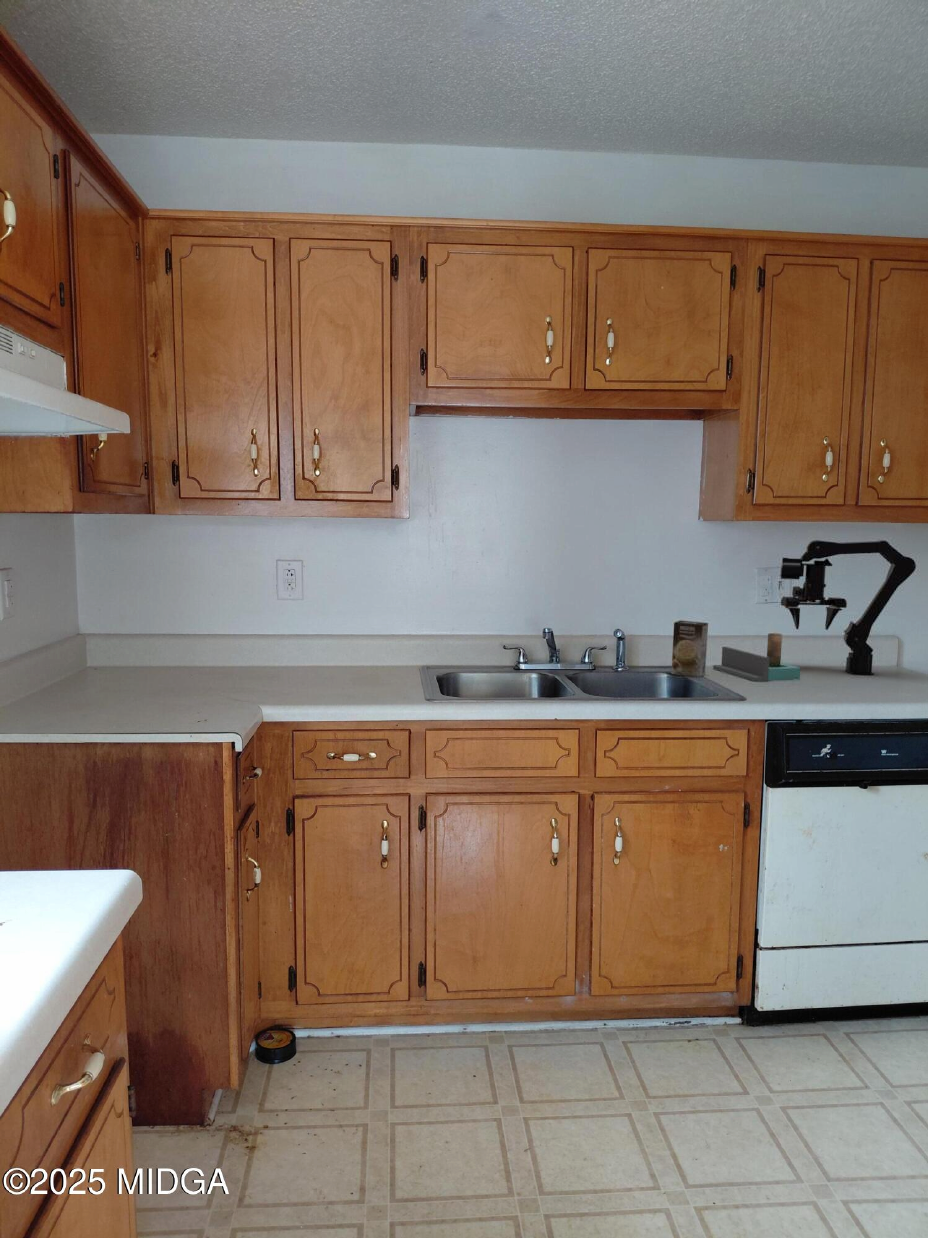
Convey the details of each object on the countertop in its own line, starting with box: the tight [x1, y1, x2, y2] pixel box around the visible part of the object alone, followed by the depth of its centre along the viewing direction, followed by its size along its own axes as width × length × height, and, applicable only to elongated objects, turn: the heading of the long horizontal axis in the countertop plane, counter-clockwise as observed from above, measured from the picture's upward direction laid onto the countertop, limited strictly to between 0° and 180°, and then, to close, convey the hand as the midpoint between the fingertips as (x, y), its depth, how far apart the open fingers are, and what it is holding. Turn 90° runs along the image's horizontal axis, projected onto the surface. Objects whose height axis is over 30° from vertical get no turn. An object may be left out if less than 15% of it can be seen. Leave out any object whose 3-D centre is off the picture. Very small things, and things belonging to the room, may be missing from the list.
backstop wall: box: [712, 646, 769, 683], centre depth 265 cm, size 5×22×7 cm, turn 16°
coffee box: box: [670, 619, 709, 678], centre depth 264 cm, size 9×6×16 cm
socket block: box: [767, 662, 801, 682], centre depth 262 cm, size 11×11×4 cm
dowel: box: [766, 632, 783, 667], centre depth 262 cm, size 4×4×12 cm
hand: (811, 629), depth 274 cm, fingers open, 9 cm apart
